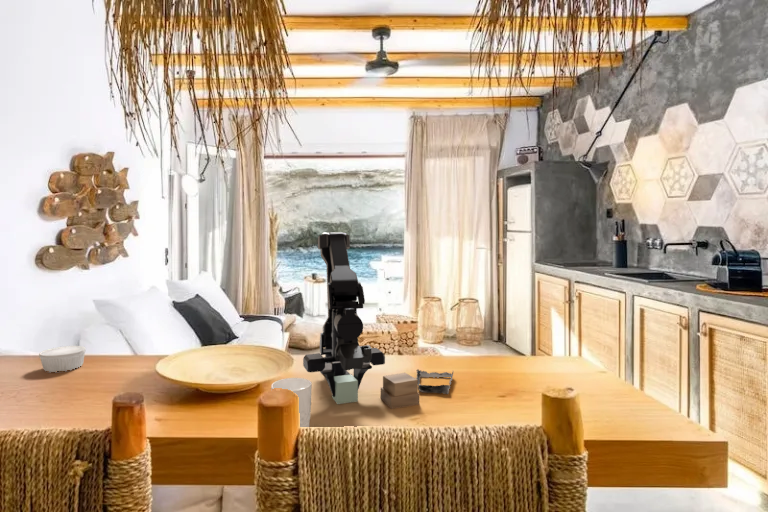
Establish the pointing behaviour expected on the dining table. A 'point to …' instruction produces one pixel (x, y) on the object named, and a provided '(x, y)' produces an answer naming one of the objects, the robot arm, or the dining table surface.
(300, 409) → the white cup
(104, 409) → the dining table surface
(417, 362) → the dining table surface
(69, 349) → the ramekin
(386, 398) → the slab base
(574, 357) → the dining table surface
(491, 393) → the dining table surface
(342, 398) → the sage cube
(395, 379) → the slab top
